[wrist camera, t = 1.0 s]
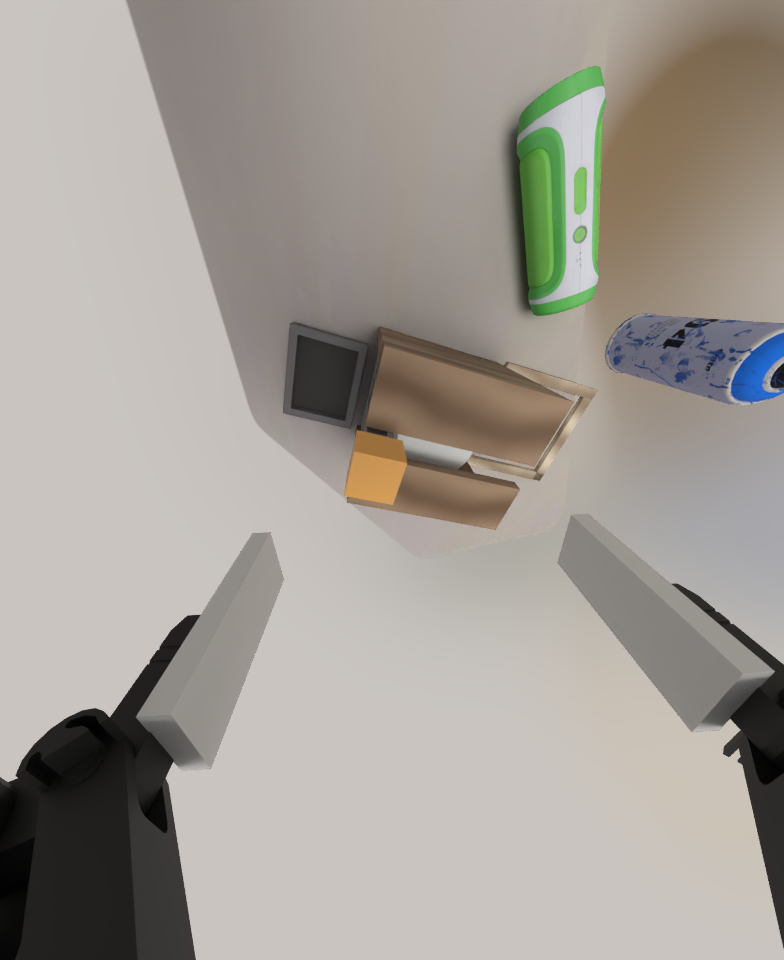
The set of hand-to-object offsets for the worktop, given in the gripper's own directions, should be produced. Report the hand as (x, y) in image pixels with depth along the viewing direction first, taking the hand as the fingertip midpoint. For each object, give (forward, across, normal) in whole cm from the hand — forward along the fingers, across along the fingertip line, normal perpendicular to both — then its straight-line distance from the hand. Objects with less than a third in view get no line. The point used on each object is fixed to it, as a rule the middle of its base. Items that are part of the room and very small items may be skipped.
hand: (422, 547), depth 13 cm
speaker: (+33, +19, +20) cm, 43 cm away
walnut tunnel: (+35, +5, -1) cm, 35 cm away
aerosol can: (+34, +35, +6) cm, 50 cm away
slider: (+34, -2, +1) cm, 35 cm away
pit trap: (+34, -9, +3) cm, 36 cm away
